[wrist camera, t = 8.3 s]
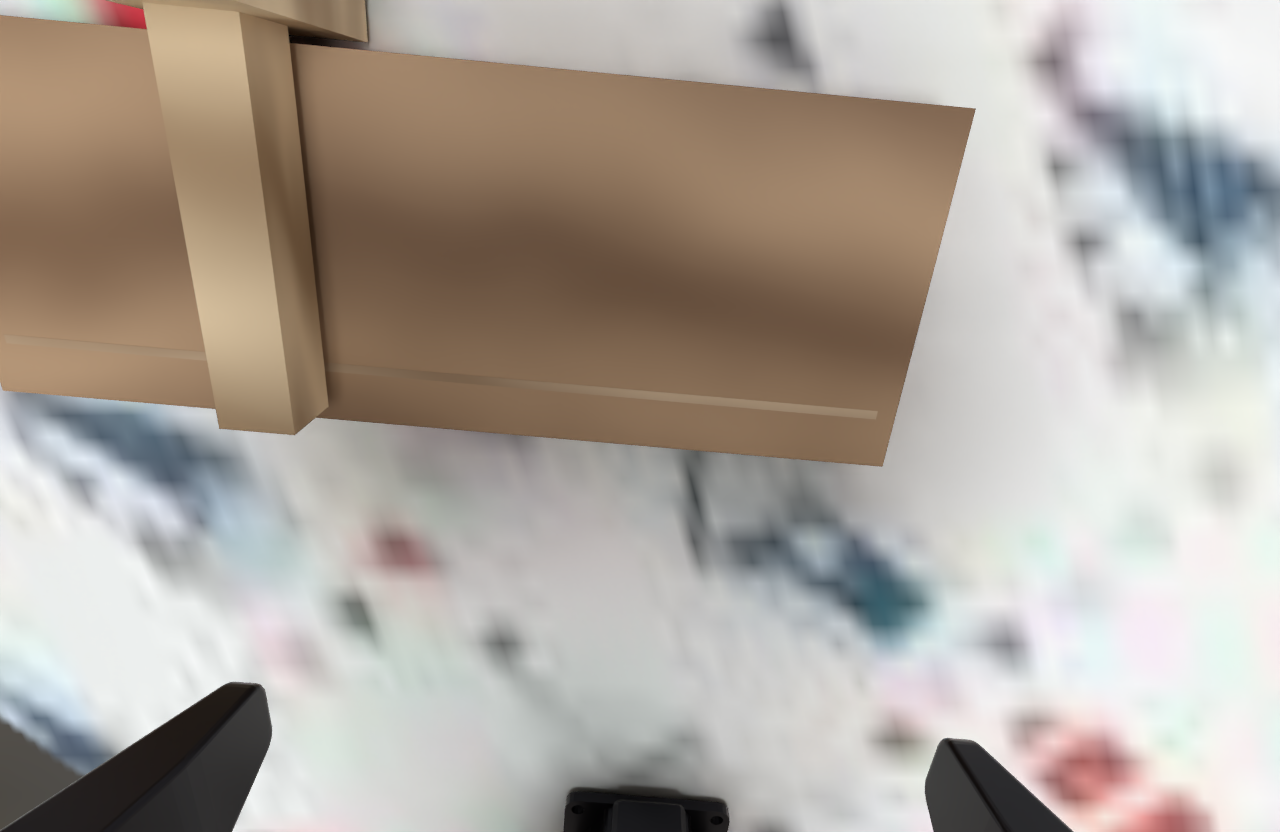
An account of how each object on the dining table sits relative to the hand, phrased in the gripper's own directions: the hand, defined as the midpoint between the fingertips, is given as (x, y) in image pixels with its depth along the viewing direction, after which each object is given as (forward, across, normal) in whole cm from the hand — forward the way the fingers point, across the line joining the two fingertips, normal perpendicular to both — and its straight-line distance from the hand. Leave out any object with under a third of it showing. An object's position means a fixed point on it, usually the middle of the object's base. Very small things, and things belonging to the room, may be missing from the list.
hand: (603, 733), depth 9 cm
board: (+12, +5, -4) cm, 13 cm away
